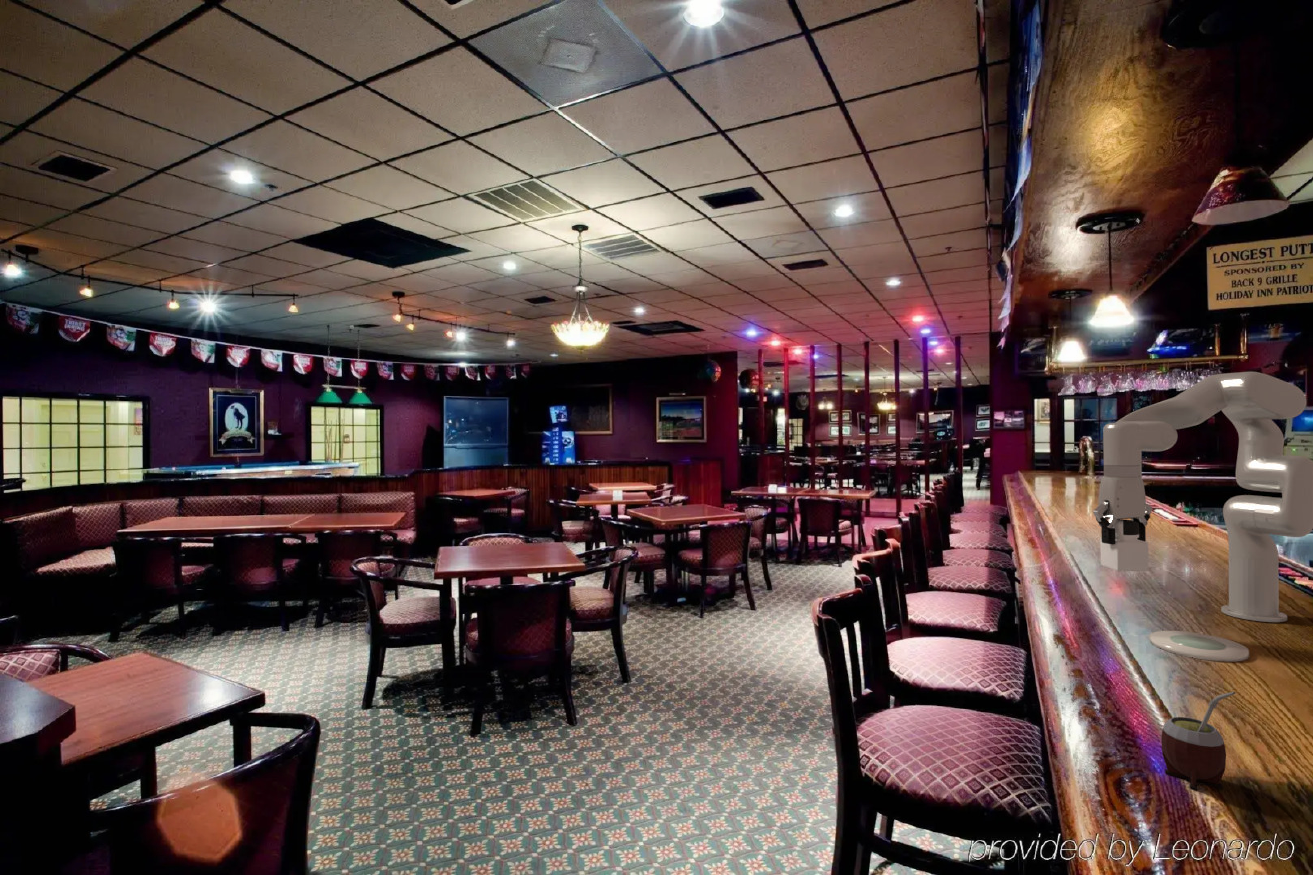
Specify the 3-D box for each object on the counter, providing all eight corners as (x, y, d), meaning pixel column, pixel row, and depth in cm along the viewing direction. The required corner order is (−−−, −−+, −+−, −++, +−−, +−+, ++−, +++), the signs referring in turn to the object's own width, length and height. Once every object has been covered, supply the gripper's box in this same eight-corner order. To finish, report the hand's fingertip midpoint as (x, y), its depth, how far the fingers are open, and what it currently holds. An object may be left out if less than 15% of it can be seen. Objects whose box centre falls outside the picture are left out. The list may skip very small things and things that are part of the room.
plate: (1153, 631, 155) (1153, 625, 155) (1248, 646, 143) (1248, 640, 143) (1146, 649, 142) (1146, 643, 142) (1249, 667, 131) (1249, 661, 131)
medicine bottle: (1130, 565, 159) (1129, 517, 159) (1149, 571, 152) (1148, 522, 152) (1100, 565, 159) (1099, 518, 159) (1117, 571, 152) (1117, 522, 152)
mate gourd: (1162, 762, 95) (1161, 663, 95) (1232, 780, 90) (1231, 675, 90) (1161, 784, 89) (1160, 678, 89) (1236, 804, 84) (1235, 692, 84)
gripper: (1135, 470, 161) (1136, 537, 161) (1080, 473, 157) (1081, 542, 157) (1165, 472, 154) (1166, 542, 154) (1108, 474, 150) (1109, 547, 150)
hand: (1123, 542), depth 155 cm, fingers closed on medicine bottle, 8 cm apart
